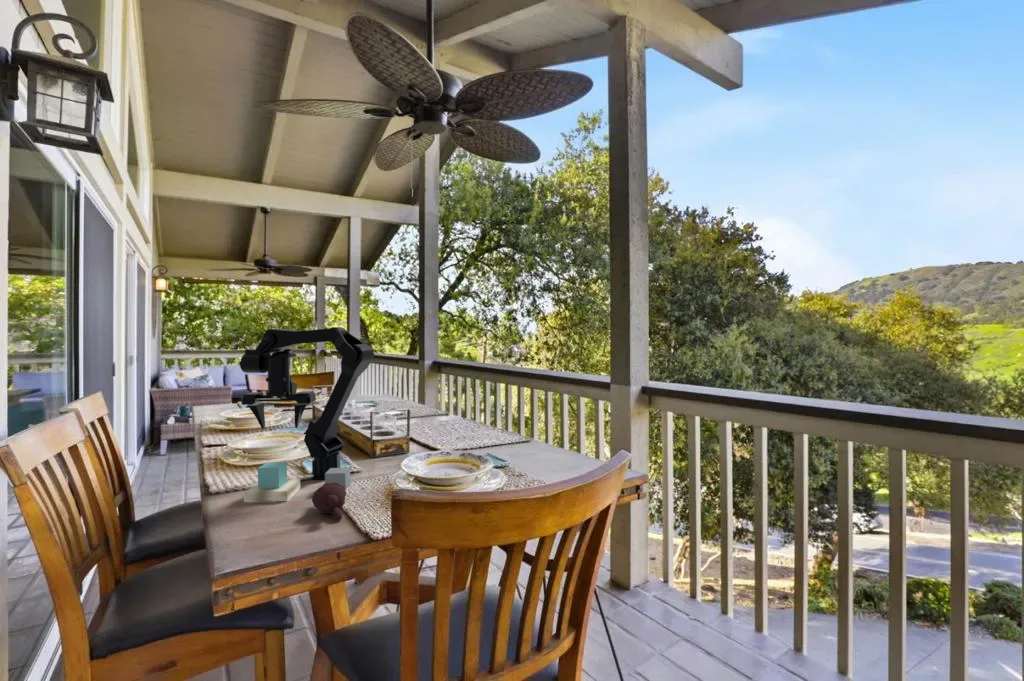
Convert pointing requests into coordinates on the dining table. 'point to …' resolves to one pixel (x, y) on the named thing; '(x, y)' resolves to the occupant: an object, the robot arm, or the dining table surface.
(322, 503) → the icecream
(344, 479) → the light grey cube
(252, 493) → the birch block
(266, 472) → the teal cube
